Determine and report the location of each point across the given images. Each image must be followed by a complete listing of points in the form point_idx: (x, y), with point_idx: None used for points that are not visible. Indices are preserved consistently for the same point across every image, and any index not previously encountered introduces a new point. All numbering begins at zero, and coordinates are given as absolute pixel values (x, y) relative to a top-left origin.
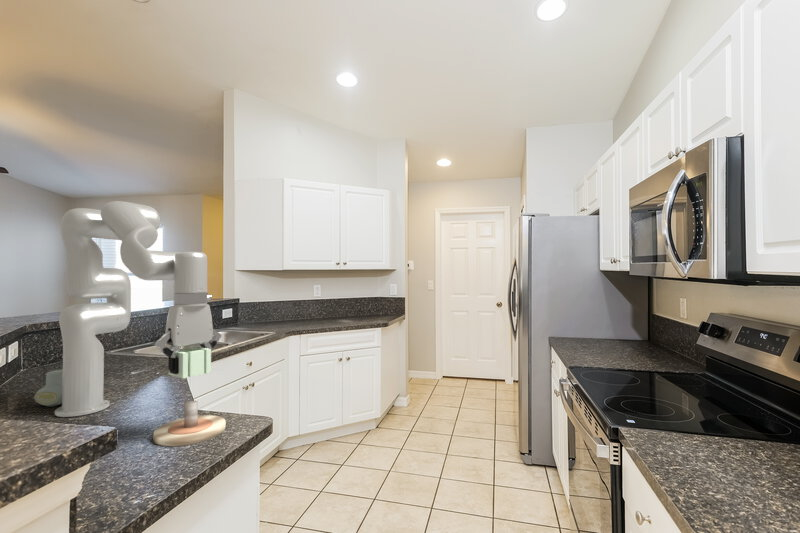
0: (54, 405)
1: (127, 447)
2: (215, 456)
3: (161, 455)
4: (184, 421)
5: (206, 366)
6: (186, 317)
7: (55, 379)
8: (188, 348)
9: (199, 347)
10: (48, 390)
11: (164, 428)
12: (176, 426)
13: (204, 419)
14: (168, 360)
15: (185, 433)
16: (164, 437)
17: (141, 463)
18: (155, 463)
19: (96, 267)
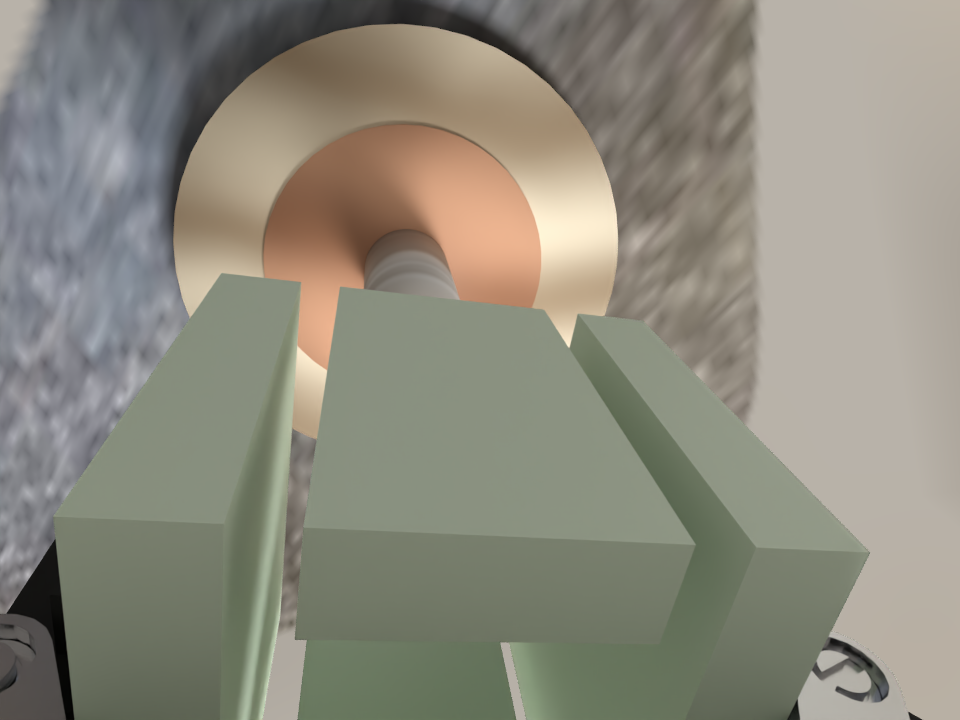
0: None
1: (33, 101)
2: (282, 603)
3: (129, 400)
4: (365, 269)
5: (523, 690)
6: None
7: None
8: (567, 637)
9: (759, 707)
10: None
11: (289, 128)
12: (349, 188)
13: (526, 247)
14: (19, 595)
15: (308, 355)
16: (205, 285)
17: (16, 401)
18: (67, 458)
19: None
